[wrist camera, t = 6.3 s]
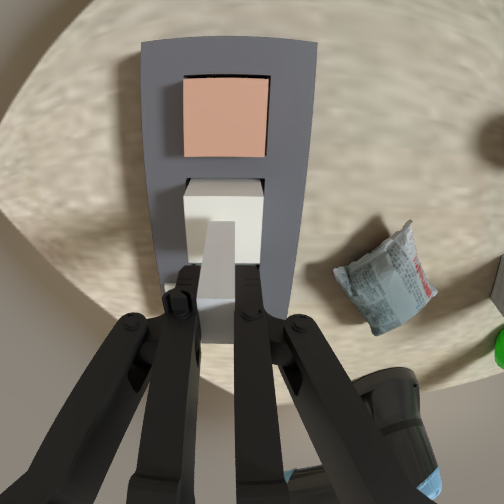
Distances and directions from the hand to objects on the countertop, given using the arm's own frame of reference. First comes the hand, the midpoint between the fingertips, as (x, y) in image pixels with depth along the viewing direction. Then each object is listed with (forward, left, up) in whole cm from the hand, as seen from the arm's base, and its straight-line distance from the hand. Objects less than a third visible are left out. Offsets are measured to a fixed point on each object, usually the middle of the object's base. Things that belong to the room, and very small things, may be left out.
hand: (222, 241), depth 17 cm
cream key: (0, 0, -5) cm, 5 cm away
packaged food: (-7, -16, -7) cm, 19 cm away
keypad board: (0, 0, -7) cm, 7 cm away
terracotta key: (+7, 0, -6) cm, 9 cm away
